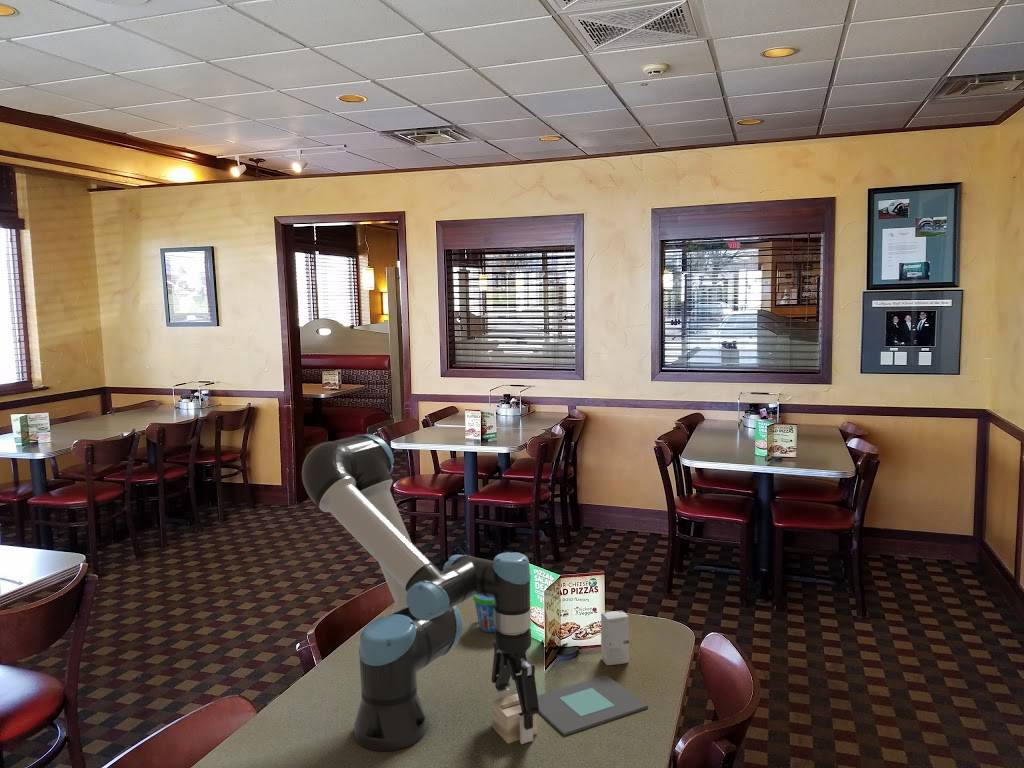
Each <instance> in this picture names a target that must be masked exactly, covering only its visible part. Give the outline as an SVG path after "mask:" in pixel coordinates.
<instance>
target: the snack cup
mask: <svg viewBox="0 0 1024 768" xmlns="http://www.w3.org/2000/svg"><path fill="white" fill-rule="evenodd" d="M472 598H473V601H474V604H475V610H476V616H477V621H478V625H479V628H480V629H481V630H482V631H483V632H484V633H495V630H496V628H495V602H494V598H492V597H485V596H481V595H473V596H472Z"/></svg>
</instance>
